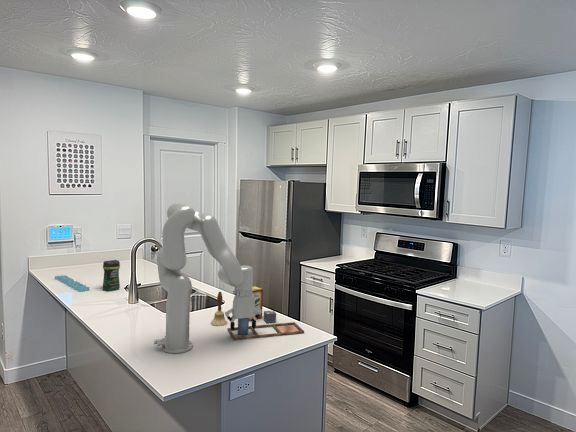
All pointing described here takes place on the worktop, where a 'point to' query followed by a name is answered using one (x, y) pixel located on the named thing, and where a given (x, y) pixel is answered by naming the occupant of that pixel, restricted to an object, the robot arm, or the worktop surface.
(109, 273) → the coffee jar
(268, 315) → the die
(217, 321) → the hand bell
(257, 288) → the baking soda box
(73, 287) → the letter sign
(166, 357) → the worktop surface
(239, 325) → the blue cylinder
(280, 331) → the board
